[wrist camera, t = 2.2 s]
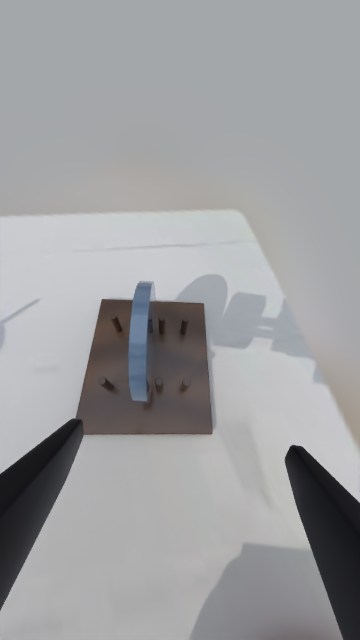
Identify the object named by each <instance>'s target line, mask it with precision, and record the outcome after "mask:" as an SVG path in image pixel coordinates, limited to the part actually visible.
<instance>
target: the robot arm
mask: <svg viewBox="0 0 360 640" xmlns="http://www.w3.org/2000/svg"><path fill="white" fill-rule="evenodd" d="M83 434H84V431H83V421H82V420H81V419H71V420H69V421H68V422H67V423H66V424H64V425H63V426H62V427H60V428H59V429H58V430H57V431H55V432H54V433H53V434H51V435H50V436H49V437H48V438H46V439H45V440H44V441H42V442H41V443H40V444H39V445H37V446H36V447H35V448H33V449H32V450H31V451H29V452H28V453H27V454H26V455H24V456H23V457H22V458H20V459H19V460H18V461H17V462H15V463H14V464H13V465H11V466H10V467H9V468H8V469H6V470H5V471H4V472H2V473H1V474H0V610H1V608H2V606H3V604H4V602H5V600H6V598H7V596H8V594H9V592H10V590H11V588H12V586H13V584H14V582H15V580H16V578H17V576H18V574H19V572H20V570H21V568H22V566H23V564H24V562H25V560H26V558H27V557H28V555H29V553H30V551H31V549H32V547H33V545H34V543H35V541H36V539H37V537H38V535H39V533H40V531H41V529H42V527H43V525H44V523H45V521H46V519H47V517H48V515H49V513H50V511H51V509H52V507H53V505H54V503H55V501H56V499H57V497H58V495H59V493H60V491H61V489H62V487H63V485H64V483H65V481H66V479H67V476H68V474H69V471H70V469H71V466H72V464H73V461H74V459H75V456H76V454H77V451H78V449H79V446H80V444H81V441H82V438H83ZM285 465H286V468H287V472H288V476H289V480H290V484H291V487H292V491H293V495H294V499H295V502H296V506H297V509H298V512H299V515H300V518H301V521H302V523H303V526H304V529H305V532H306V535H307V538H308V541H309V543H310V546H311V549H312V552H313V555H314V558H315V560H316V563H317V566H318V569H319V572H320V575H321V577H322V580H323V583H324V586H325V589H326V592H327V594H328V597H329V600H330V603H331V606H332V609H333V612H334V614H335V617H336V620H337V623H338V626H339V629H340V631H341V634H342V637H343V640H360V503H359V502H358V501H357V500H356V499H355V498H354V497H353V496H352V495H351V494H350V493H349V492H348V491H347V490H346V489H345V488H344V487H343V486H342V485H341V484H340V483H339V482H338V481H337V480H336V479H335V478H334V477H333V476H332V475H331V474H330V473H329V472H328V471H327V470H326V469H325V468H323V467H322V466H321V465H320V464H319V463H318V462H317V461H316V460H315V459H314V458H313V457H312V456H311V455H310V454H309V453H308V452H307V451H306V450H305V449H304V448H303V447H301V446H296V445H292V446H290V448H289V450H288V452H287V454H286V457H285Z"/></svg>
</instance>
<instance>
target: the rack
mask: <svg viewBox="0 0 360 640" xmlns="http://www.w3.org/2000/svg"><path fill="white" fill-rule="evenodd" d="M132 305H133V300H107V299H102V301H101V306H100V311H99V315H98V320H97V324H96V329H95V333H94V338H93V342H92V347H91V352H90V356H89V361H88V365H87V370H86V374H85V379H84V383H83V388H82V393H81V397H80V402H79V406H78V411H77V415H76V419H81V420H82V421H83V431H84V434H212V420H211V405H210V390H209V375H208V361H207V346H206V331H205V316H204V304H203V303H183V302H158V301H156V337H155V358H154V372H153V383H152V391H151V397H150V401H149V402H148V403H135V402H133V400H132V398H131V393H130V385H129V334H130V321H131V312H132Z"/></svg>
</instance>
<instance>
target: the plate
mask: <svg viewBox="0 0 360 640" xmlns="http://www.w3.org/2000/svg"><path fill="white" fill-rule="evenodd" d="M155 337H156V293H155V284H154V282H153V281H139V283H138V284H137V287H136V290H135V294H134V299H133V305H132V312H131V321H130V334H129V385H130V393H131V398H132V400H133V402H135V403H148V402H149V401H150V397H151V391H152V383H153V372H154V358H155Z"/></svg>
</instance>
